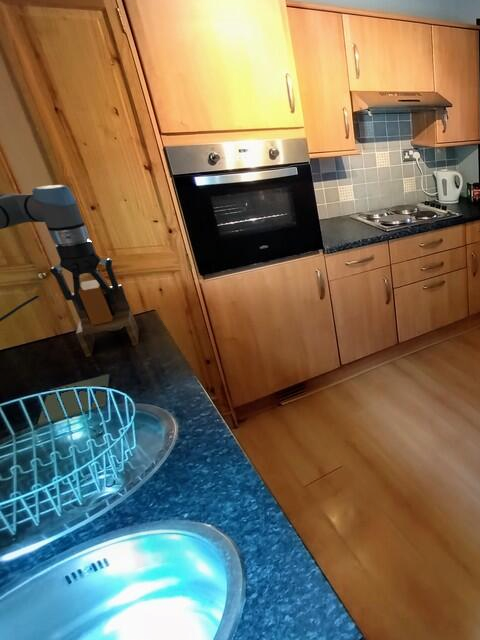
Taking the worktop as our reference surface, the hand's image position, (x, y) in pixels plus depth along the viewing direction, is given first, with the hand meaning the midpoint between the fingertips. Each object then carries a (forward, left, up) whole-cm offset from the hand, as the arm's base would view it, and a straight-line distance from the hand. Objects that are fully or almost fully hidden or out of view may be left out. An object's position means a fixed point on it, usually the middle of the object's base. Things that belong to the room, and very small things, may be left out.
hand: (102, 316), depth 135 cm
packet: (0, 0, -1) cm, 1 cm away
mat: (+30, -6, -9) cm, 32 cm away
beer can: (-11, 0, -9) cm, 14 cm away
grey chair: (0, 0, -9) cm, 9 cm away
